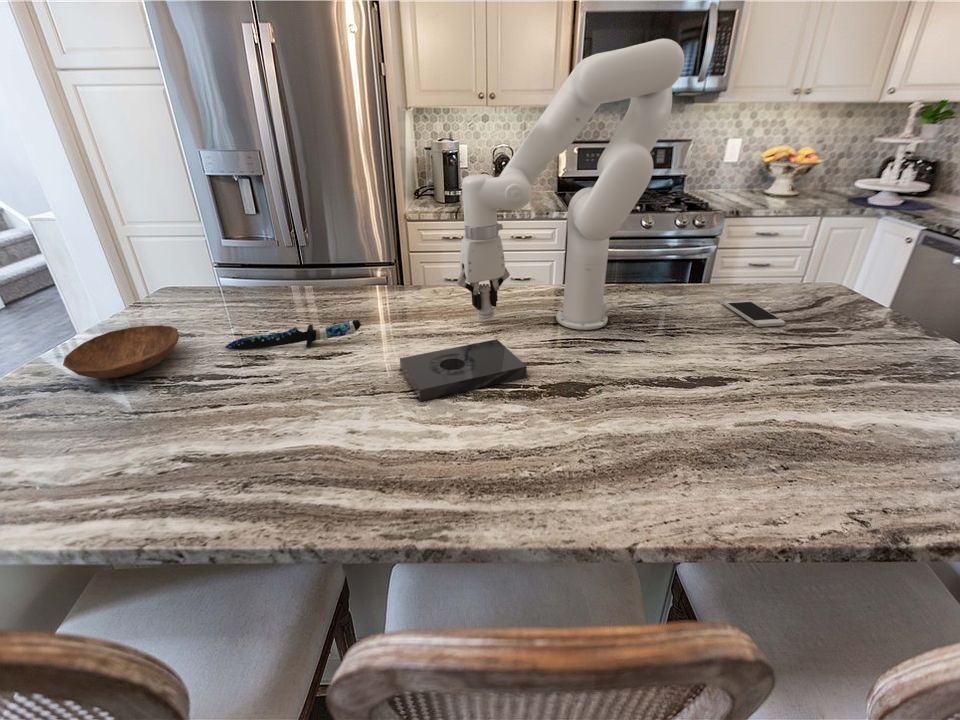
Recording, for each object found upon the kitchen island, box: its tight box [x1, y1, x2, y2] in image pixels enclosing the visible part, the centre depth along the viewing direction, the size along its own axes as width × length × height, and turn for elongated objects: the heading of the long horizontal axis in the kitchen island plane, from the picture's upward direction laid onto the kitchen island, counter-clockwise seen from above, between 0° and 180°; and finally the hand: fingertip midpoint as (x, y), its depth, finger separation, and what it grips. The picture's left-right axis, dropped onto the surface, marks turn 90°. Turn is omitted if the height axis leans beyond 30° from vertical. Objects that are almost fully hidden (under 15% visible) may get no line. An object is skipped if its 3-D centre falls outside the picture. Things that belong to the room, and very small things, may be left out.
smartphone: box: [723, 299, 786, 328], centre depth 126 cm, size 7×15×1 cm, turn 6°
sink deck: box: [399, 339, 528, 402], centre depth 100 cm, size 22×14×2 cm, turn 113°
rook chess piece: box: [476, 283, 495, 320], centre depth 122 cm, size 4×4×8 cm
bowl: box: [62, 324, 180, 379], centre depth 105 cm, size 20×22×5 cm
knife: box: [225, 319, 362, 351], centre depth 113 cm, size 31×3×4 cm, turn 93°
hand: (485, 305), depth 123 cm, fingers closed on rook chess piece, 3 cm apart
